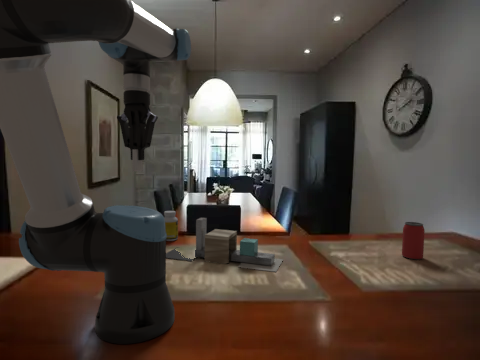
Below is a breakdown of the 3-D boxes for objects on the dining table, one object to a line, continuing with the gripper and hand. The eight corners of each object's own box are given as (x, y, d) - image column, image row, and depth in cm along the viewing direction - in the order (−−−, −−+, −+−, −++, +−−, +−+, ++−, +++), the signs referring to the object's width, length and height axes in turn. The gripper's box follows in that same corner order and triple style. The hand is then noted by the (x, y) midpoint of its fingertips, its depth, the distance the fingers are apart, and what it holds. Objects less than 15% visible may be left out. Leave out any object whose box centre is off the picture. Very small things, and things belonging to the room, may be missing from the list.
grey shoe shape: (191, 261, 101) (191, 260, 101) (159, 257, 105) (159, 256, 105) (206, 251, 113) (206, 250, 113) (177, 248, 117) (177, 247, 117)
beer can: (417, 254, 112) (419, 221, 111) (426, 260, 106) (428, 225, 105) (398, 254, 113) (400, 221, 112) (406, 259, 106) (408, 225, 105)
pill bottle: (175, 241, 125) (176, 213, 125) (160, 241, 126) (159, 212, 125) (179, 237, 132) (179, 210, 131) (164, 237, 132) (164, 210, 131)
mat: (276, 272, 93) (276, 271, 93) (237, 267, 96) (237, 266, 96) (283, 260, 104) (283, 259, 104) (248, 256, 108) (249, 255, 108)
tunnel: (227, 264, 99) (227, 237, 99) (204, 261, 102) (204, 234, 101) (236, 256, 108) (236, 231, 107) (215, 253, 110) (215, 229, 109)
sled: (271, 265, 97) (272, 226, 96) (195, 256, 105) (195, 220, 104) (274, 260, 101) (275, 223, 101) (201, 252, 110) (201, 217, 109)
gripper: (163, 93, 94) (163, 171, 96) (126, 95, 98) (127, 170, 100) (148, 87, 87) (148, 172, 88) (110, 90, 91) (111, 171, 93)
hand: (137, 171), depth 94 cm, fingers closed
